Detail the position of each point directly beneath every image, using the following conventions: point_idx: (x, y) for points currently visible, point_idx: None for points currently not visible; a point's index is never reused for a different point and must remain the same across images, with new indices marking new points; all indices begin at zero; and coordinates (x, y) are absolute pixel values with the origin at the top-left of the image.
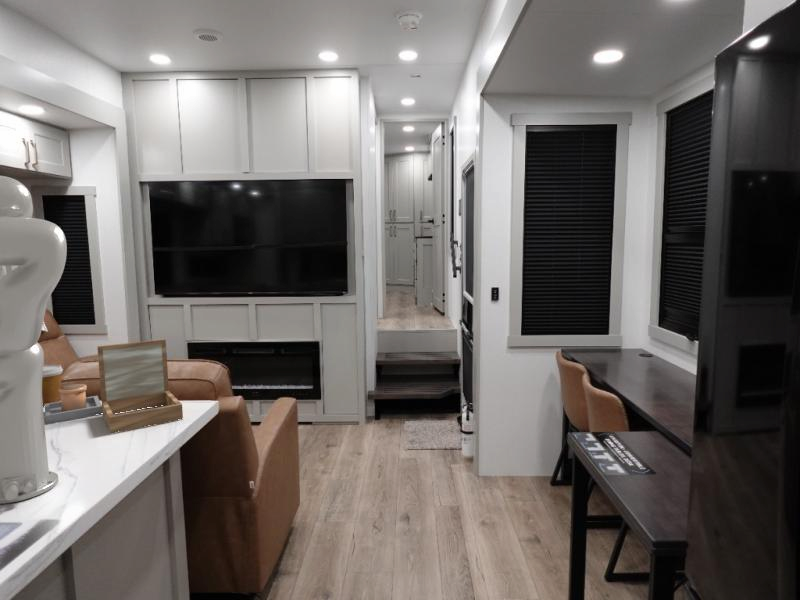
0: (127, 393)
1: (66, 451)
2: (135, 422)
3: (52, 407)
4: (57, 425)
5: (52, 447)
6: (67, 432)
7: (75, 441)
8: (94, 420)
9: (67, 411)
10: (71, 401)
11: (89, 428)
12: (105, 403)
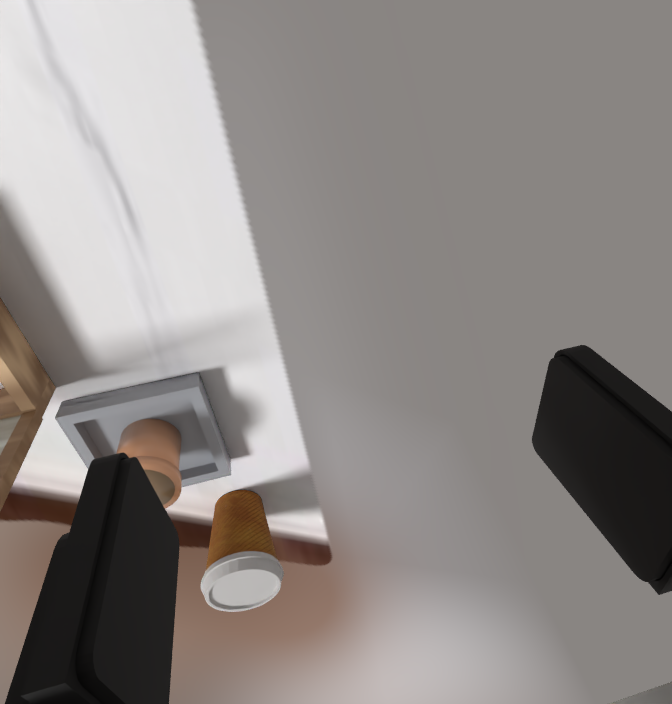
0: None
1: (41, 85)
2: None
3: (212, 464)
4: (165, 354)
5: (110, 158)
6: (113, 284)
7: (50, 183)
8: (67, 359)
9: (148, 403)
10: (143, 441)
11: (53, 293)
12: (16, 393)
